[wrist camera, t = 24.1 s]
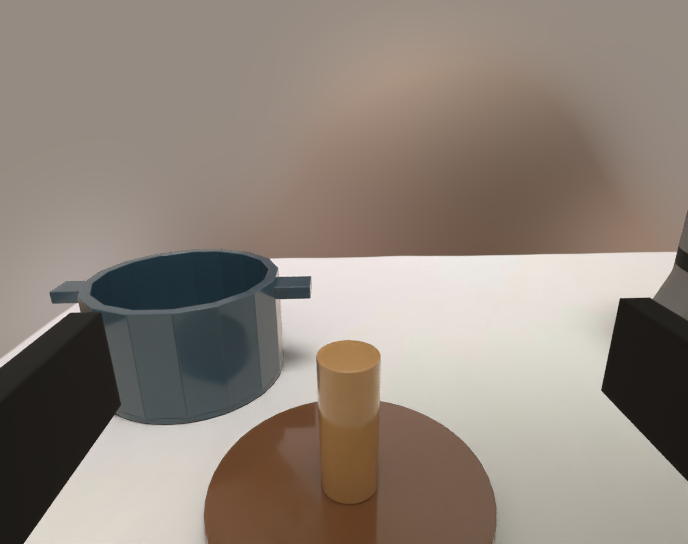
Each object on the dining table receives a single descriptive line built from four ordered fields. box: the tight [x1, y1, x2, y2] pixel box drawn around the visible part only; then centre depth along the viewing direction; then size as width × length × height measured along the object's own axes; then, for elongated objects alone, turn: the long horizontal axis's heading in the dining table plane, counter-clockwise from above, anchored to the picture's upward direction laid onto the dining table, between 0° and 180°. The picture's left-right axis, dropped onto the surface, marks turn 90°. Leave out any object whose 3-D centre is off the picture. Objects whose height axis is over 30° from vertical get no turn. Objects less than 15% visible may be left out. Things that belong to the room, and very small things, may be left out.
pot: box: [50, 249, 312, 424], centre depth 38 cm, size 15×20×8 cm
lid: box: [204, 340, 496, 544], centre depth 24 cm, size 16×16×9 cm
